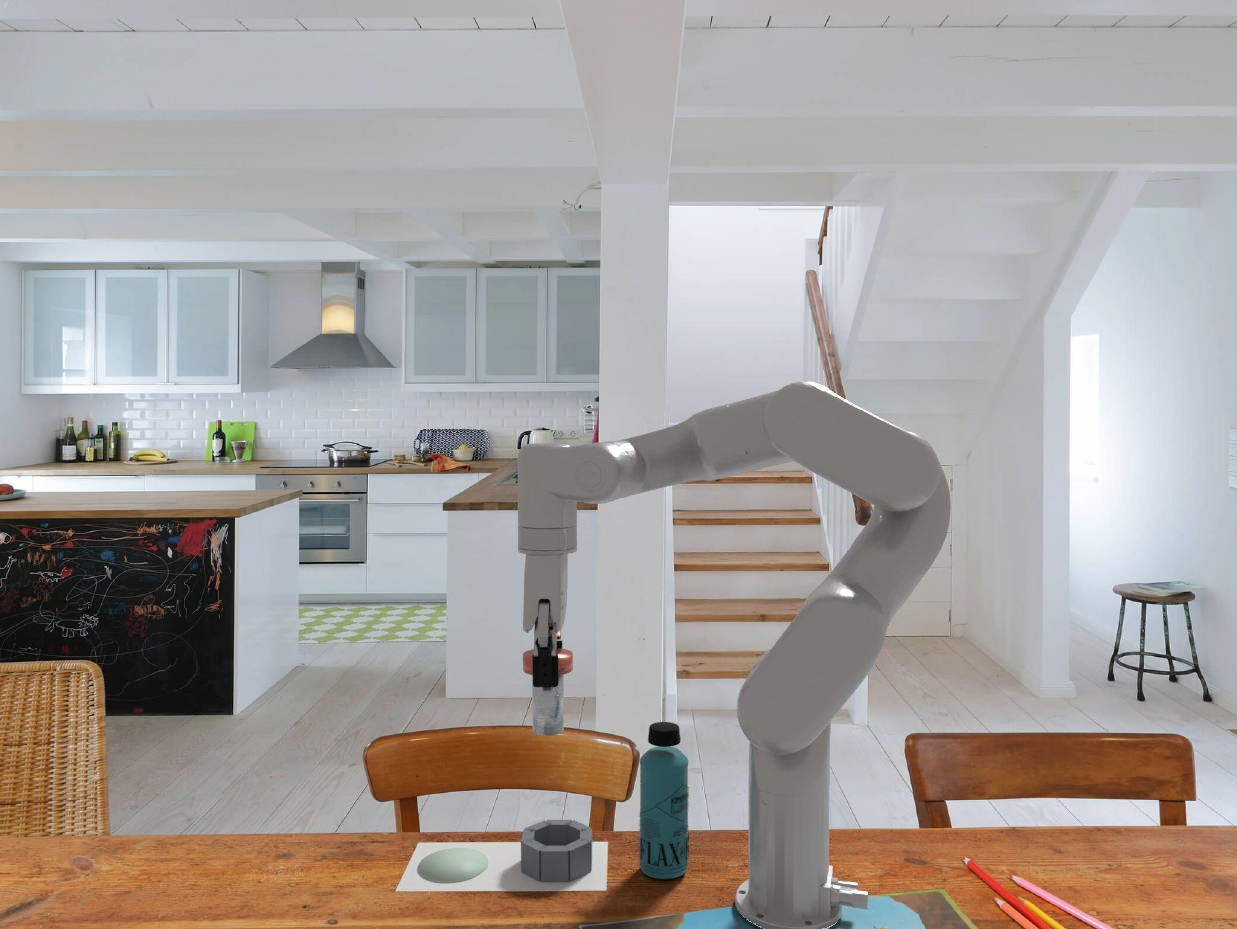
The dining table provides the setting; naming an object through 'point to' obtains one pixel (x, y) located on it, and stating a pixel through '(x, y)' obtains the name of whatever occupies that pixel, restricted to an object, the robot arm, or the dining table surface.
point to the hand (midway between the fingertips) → (548, 677)
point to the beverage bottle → (664, 805)
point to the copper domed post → (549, 696)
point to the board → (512, 862)
